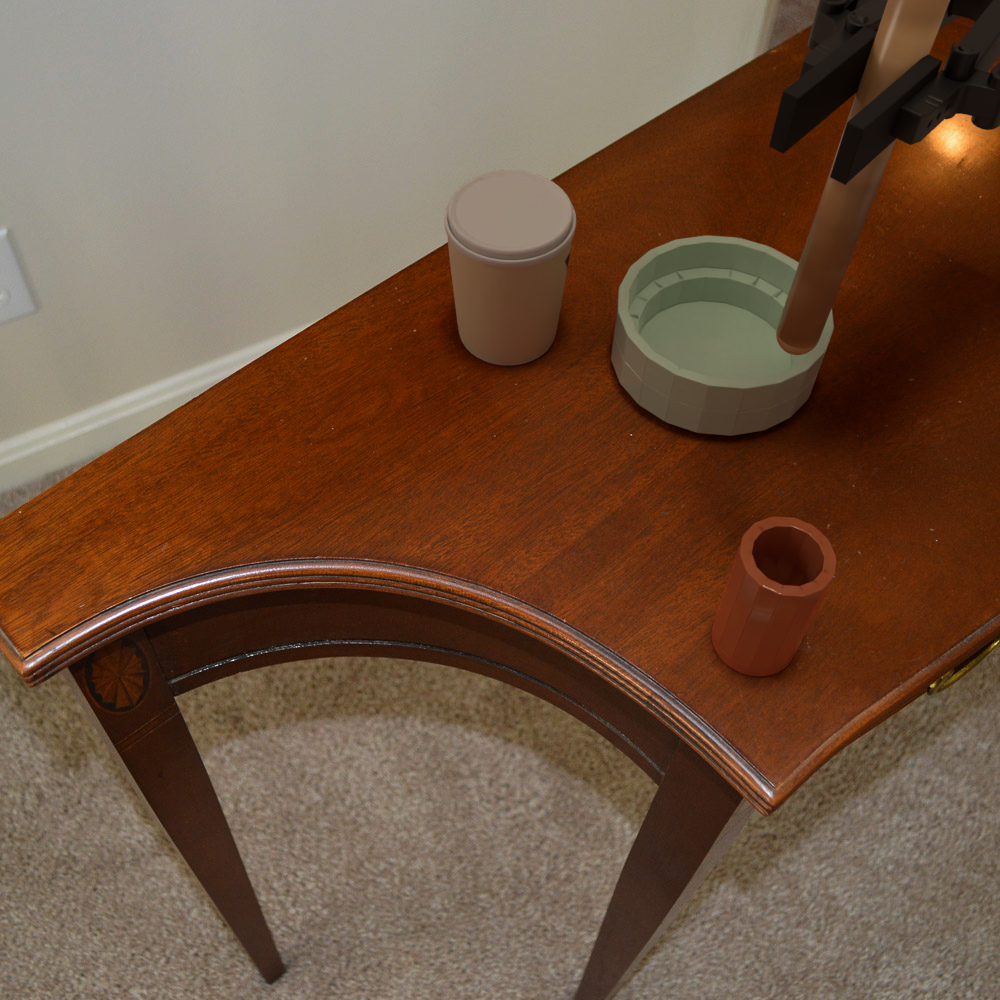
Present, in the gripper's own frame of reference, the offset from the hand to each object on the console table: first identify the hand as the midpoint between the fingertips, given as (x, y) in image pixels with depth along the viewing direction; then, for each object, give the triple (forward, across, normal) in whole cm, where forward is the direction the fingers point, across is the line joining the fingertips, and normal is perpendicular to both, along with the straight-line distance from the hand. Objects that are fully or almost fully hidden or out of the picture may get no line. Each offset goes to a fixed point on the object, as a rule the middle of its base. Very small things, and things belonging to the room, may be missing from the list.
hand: (815, 138), depth 45 cm
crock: (+1, -6, -34) cm, 35 cm away
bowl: (-17, +10, -34) cm, 39 cm away
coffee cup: (-9, +24, -34) cm, 43 cm away
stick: (-6, 0, -17) cm, 18 cm away
